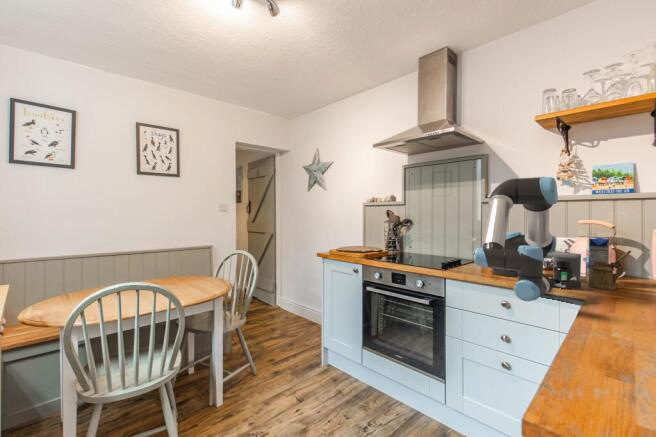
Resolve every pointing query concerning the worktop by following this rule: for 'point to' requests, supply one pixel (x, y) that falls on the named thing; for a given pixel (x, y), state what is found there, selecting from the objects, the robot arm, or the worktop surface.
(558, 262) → the supplement bottle
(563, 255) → the bay
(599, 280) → the wooden mug
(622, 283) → the worktop surface
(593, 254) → the beverage box
